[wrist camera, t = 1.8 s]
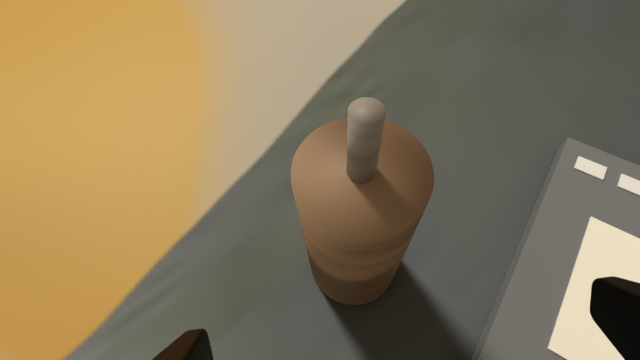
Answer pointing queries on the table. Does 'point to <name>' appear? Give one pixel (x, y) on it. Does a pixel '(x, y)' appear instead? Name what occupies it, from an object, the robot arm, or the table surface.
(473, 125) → the table surface
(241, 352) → the table surface
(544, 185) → the grey flat block
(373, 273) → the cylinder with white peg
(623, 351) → the robot arm
